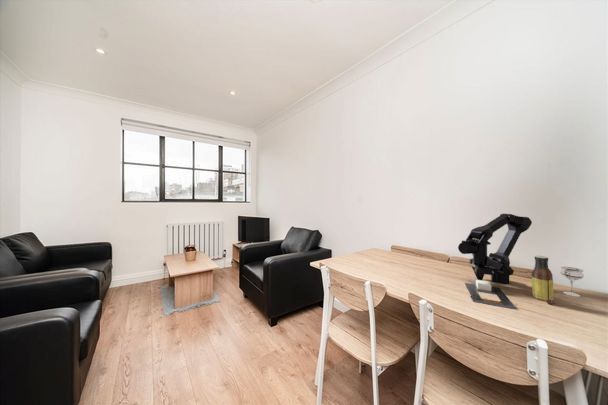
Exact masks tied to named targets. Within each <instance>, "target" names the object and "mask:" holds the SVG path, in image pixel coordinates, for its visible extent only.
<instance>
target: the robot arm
mask: <svg viewBox="0 0 608 405" xmlns="http://www.w3.org/2000/svg"><path fill="white" fill-rule="evenodd" d="M532 224H533V222H532V219H530V217H528V216H519V215H515V214H512V213H501V214H499V216H497V217H496V218H494V219H493V220H491V221H489V222H488V223H487V224H484V225H482V226H478V227H474V228H472V229H471V230H470V233H469V234H468V235H467V237H466V239H465V240H461V242H460V243H459V245H458V247H457V248H458V251H459V252H460V254H461V255H469V254H470V255H471V256H472V258H470V259H469V264H470V265H473V266H471V268H472V271H473V273H474V275H475V277H476V280H482V281H484V277H485V275H488V276H490V280H491V282H493V283H497V284H502V285H510V276H512V275H514V272H515V271H514V269H513V268H512V267H511V266H510V264H511V260H510V255H511V253H512V251H513V249H514V248H515V246H516V243H517V242H518V239H520V236H521V234H523V233H524V232H526V231H528V230H529V229H530V228H531V227H532V226H531V225H532ZM506 225H507V229H508V230H507V232H505V235H504V237H503V239H502V241H501V243H500V244H499V247H498V248H497V250H496V252H494V253H493V252H490V253H489V255H488V245H491V244H492V243H491V242H490V241H489V240H491V238H492V237H493V236H494V233H495V232H497V231H498V230H500V229H502V228H503V227H504V226H506Z"/></svg>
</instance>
